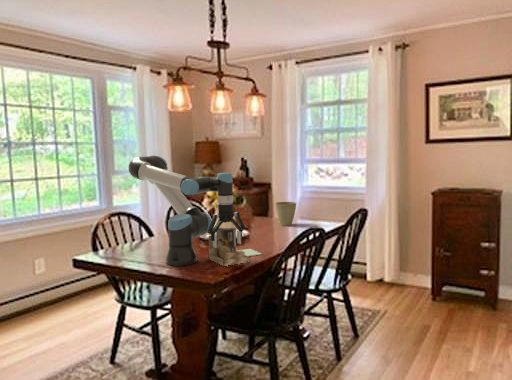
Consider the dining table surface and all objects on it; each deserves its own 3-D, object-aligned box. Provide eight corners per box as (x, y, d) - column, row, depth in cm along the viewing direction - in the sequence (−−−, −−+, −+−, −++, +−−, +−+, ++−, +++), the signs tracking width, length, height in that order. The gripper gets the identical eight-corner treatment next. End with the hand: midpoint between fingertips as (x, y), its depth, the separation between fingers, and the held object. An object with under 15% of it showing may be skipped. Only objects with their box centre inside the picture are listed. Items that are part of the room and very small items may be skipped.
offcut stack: (225, 266, 212) (225, 255, 212) (222, 264, 215) (222, 253, 215) (245, 262, 218) (245, 251, 217) (242, 261, 221) (241, 250, 220)
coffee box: (237, 258, 226) (236, 227, 224) (234, 261, 219) (234, 230, 218) (219, 258, 227) (218, 227, 225) (216, 261, 221) (216, 230, 219)
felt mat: (241, 257, 227) (241, 256, 227) (230, 252, 238) (230, 251, 238) (261, 254, 232) (261, 253, 232) (249, 249, 244) (249, 248, 244)
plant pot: (300, 224, 317) (299, 202, 315) (290, 227, 304) (290, 204, 303) (281, 222, 325) (281, 201, 323) (271, 225, 312) (271, 203, 310)
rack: (223, 267, 211) (222, 242, 209) (209, 259, 225) (208, 236, 224) (249, 262, 217) (248, 238, 216) (233, 255, 232) (233, 232, 231)
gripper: (205, 206, 211) (207, 250, 213) (251, 202, 223) (252, 243, 225) (199, 205, 217) (201, 247, 219) (244, 200, 229) (245, 240, 232)
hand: (227, 245), depth 222 cm, fingers open, 13 cm apart
